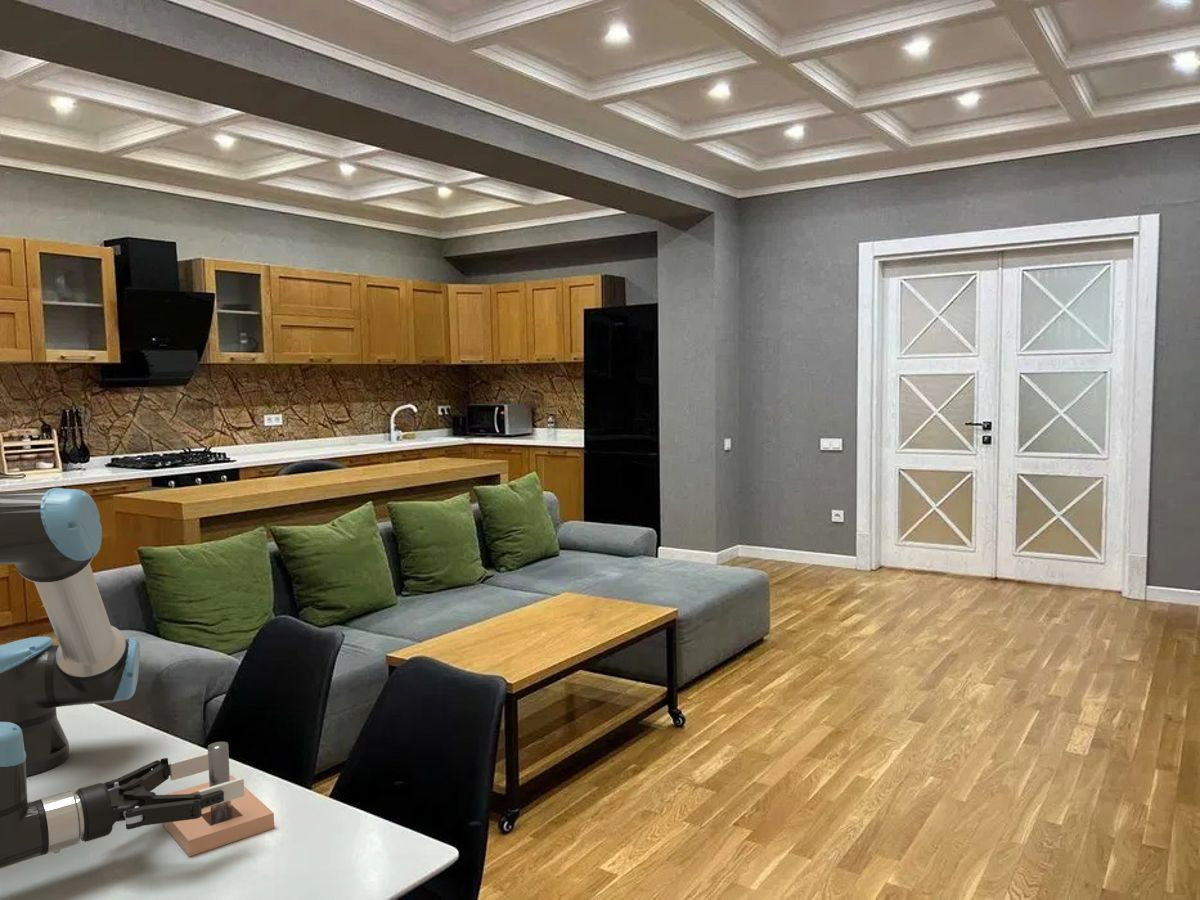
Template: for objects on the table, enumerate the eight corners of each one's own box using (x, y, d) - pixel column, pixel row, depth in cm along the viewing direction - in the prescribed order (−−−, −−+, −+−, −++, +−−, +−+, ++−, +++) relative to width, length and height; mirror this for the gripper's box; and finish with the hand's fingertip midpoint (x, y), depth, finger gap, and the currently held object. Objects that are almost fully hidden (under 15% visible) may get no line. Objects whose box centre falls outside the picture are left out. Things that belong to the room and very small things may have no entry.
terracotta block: (153, 812, 150) (152, 798, 150) (232, 789, 159) (231, 775, 159) (189, 856, 136) (188, 840, 136) (274, 827, 144) (273, 812, 144)
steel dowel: (208, 830, 144) (205, 745, 143) (228, 824, 146) (224, 740, 145) (215, 837, 142) (211, 750, 141) (234, 830, 144) (230, 745, 143)
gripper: (59, 811, 140) (201, 771, 154) (100, 875, 121) (258, 823, 135) (57, 764, 139) (199, 728, 153) (97, 822, 120) (256, 774, 135)
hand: (227, 772), depth 144 cm, fingers open, 13 cm apart
